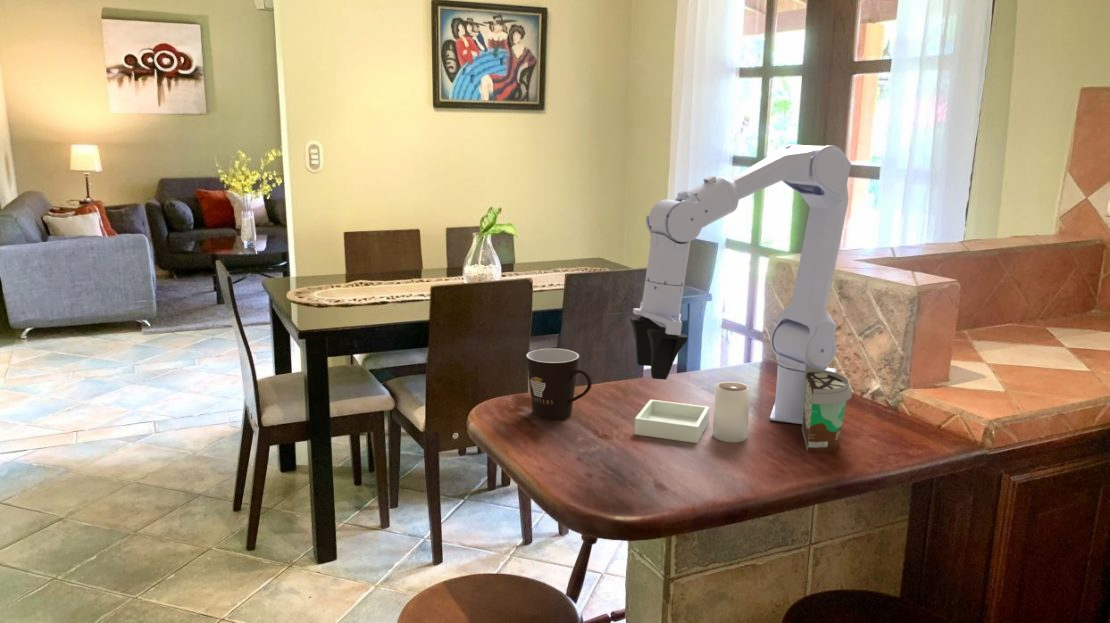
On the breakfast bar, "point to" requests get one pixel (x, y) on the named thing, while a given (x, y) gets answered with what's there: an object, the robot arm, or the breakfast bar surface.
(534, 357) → the coffee mug
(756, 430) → the breakfast bar surface
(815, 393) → the food container
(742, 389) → the cup
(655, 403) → the tray
